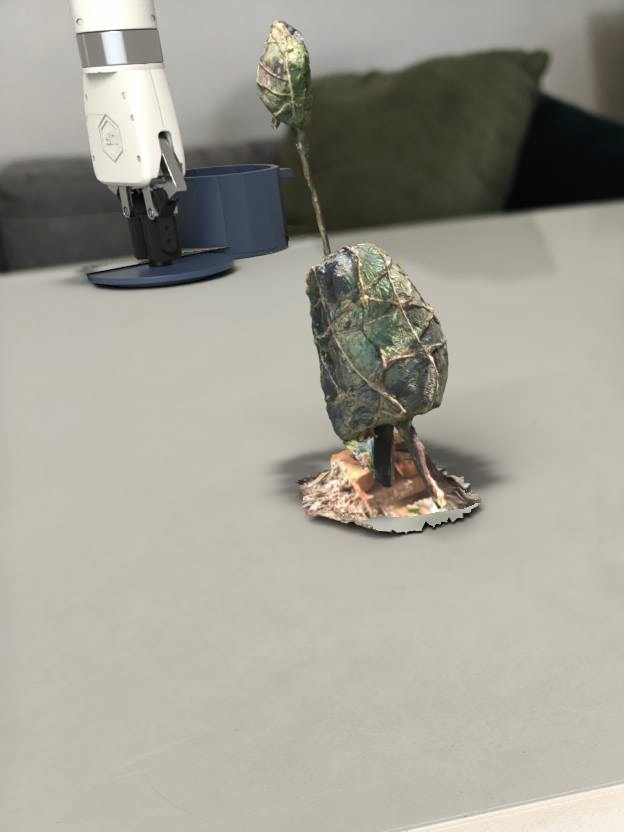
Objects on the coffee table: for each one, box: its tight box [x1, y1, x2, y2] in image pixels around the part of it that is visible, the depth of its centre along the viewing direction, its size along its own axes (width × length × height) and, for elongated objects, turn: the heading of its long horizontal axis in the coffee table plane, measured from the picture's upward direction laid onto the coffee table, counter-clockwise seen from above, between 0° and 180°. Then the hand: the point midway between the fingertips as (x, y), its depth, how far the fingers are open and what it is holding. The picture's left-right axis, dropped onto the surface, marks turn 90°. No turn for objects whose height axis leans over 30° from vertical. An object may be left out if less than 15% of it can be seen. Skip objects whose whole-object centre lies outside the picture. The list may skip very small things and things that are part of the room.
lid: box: [86, 212, 235, 288], centre depth 113 cm, size 15×15×6 cm
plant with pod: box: [255, 19, 482, 533], centre depth 47 cm, size 8×11×20 cm
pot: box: [137, 163, 293, 260], centre depth 127 cm, size 14×19×8 cm
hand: (158, 257), depth 114 cm, fingers closed on lid, 2 cm apart
